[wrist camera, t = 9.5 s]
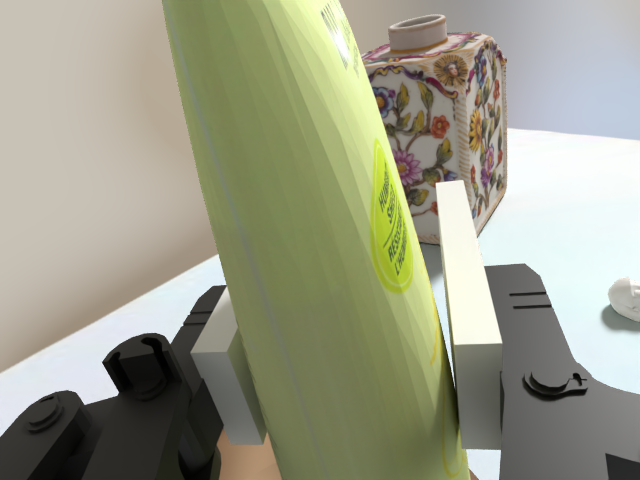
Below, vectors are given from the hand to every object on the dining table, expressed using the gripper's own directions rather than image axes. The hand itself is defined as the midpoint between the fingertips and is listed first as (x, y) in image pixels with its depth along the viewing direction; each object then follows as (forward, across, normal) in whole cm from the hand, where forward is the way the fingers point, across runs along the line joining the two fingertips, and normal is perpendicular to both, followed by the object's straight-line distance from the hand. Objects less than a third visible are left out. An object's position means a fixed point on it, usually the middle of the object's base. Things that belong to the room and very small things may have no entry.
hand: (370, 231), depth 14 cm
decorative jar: (+30, +2, -16) cm, 34 cm away
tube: (-5, 0, -11) cm, 12 cm away
